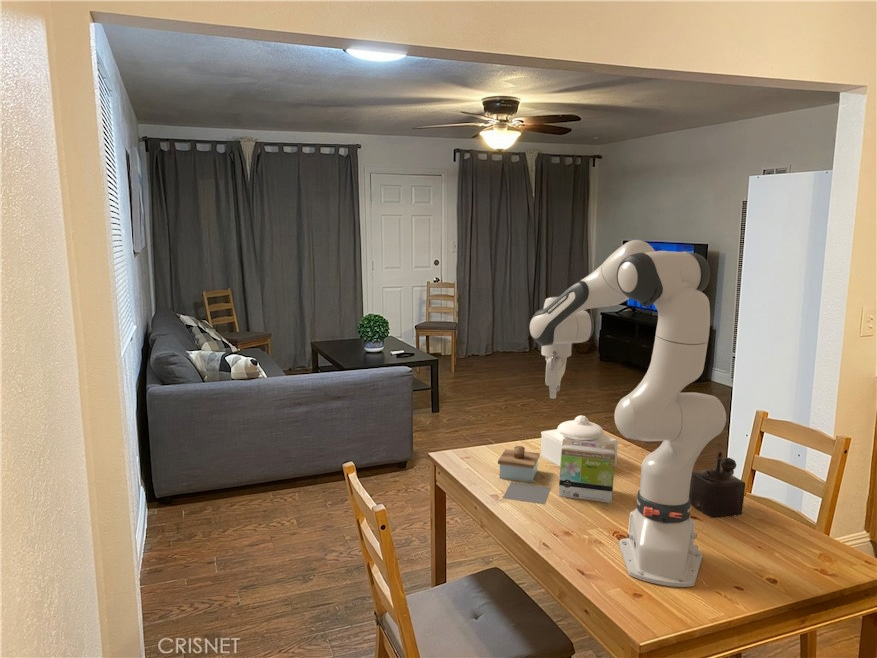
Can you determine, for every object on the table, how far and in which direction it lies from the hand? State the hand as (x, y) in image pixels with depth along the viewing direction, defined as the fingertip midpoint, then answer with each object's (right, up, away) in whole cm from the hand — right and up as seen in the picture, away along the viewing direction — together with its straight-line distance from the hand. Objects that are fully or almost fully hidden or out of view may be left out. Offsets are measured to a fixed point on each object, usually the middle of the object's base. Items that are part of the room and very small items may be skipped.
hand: (554, 394), depth 190 cm
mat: (-9, -28, -8) cm, 31 cm away
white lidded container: (+11, -25, +19) cm, 33 cm away
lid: (-10, -21, +5) cm, 24 cm away
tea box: (+8, -29, -7) cm, 30 cm away
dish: (-10, -26, +6) cm, 28 cm away
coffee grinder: (+42, -31, -18) cm, 55 cm away
